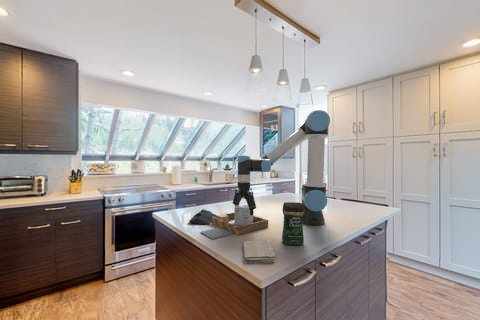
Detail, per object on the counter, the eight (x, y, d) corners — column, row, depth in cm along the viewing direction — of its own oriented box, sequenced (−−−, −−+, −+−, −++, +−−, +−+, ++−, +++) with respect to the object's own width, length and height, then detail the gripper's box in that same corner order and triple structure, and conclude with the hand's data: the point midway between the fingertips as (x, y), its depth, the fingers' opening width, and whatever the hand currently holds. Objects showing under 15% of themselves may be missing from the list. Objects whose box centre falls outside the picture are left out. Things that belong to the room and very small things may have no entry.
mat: (232, 234, 111) (232, 233, 111) (212, 239, 103) (212, 238, 103) (219, 228, 120) (219, 227, 120) (200, 233, 113) (200, 231, 113)
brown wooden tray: (268, 227, 123) (268, 219, 123) (238, 235, 109) (238, 227, 109) (240, 217, 143) (240, 211, 143) (211, 223, 129) (211, 216, 129)
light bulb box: (253, 222, 131) (253, 204, 131) (252, 226, 124) (252, 207, 124) (235, 222, 132) (235, 204, 132) (234, 225, 125) (234, 206, 125)
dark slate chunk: (184, 225, 128) (184, 217, 128) (196, 215, 150) (196, 208, 150) (210, 226, 126) (210, 218, 126) (218, 216, 148) (218, 209, 148)
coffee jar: (283, 246, 96) (283, 204, 96) (280, 239, 104) (280, 200, 104) (305, 246, 96) (305, 204, 96) (301, 239, 104) (301, 200, 103)
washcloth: (244, 265, 80) (244, 256, 80) (242, 245, 98) (242, 238, 98) (277, 264, 80) (277, 256, 80) (268, 245, 98) (268, 238, 98)
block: (228, 224, 128) (228, 215, 128) (221, 225, 125) (221, 217, 125) (224, 222, 132) (224, 214, 132) (217, 223, 129) (217, 215, 129)
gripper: (227, 180, 135) (226, 215, 135) (252, 184, 116) (252, 224, 117) (236, 179, 140) (236, 213, 140) (262, 183, 121) (262, 221, 121)
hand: (243, 218), depth 128 cm, fingers closed on light bulb box, 12 cm apart
